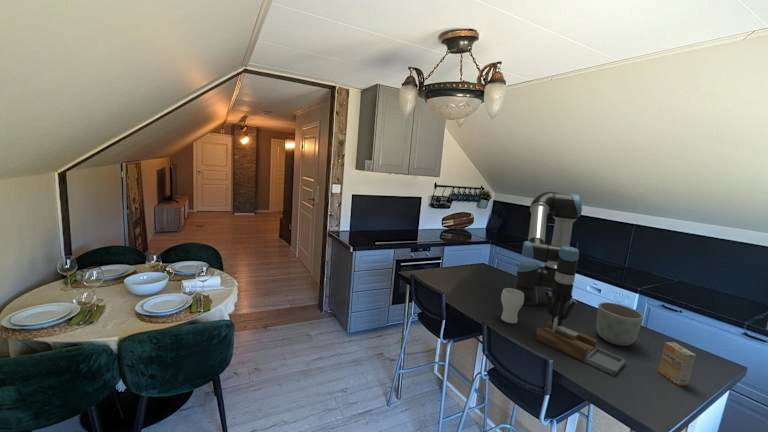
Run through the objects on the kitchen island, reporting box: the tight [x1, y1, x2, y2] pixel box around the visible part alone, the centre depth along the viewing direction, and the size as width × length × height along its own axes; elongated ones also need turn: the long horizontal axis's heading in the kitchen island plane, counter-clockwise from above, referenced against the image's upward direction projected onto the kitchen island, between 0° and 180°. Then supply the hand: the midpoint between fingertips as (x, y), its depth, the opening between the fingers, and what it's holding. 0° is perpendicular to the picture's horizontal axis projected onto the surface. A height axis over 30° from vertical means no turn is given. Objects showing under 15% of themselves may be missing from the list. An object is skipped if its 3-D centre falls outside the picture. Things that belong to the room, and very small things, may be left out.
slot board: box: [535, 320, 598, 363], centre depth 144 cm, size 13×20×6 cm, turn 40°
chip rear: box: [555, 325, 570, 337], centre depth 145 cm, size 4×4×4 cm
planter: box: [595, 301, 644, 347], centre depth 151 cm, size 17×17×15 cm
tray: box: [583, 346, 627, 377], centre depth 133 cm, size 14×11×2 cm
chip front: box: [565, 329, 580, 342], centre depth 142 cm, size 4×4×4 cm
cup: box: [500, 287, 524, 324], centre depth 164 cm, size 11×11×15 cm
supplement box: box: [657, 341, 697, 386], centre depth 125 cm, size 8×5×13 cm, turn 5°
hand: (554, 331), depth 147 cm, fingers closed
